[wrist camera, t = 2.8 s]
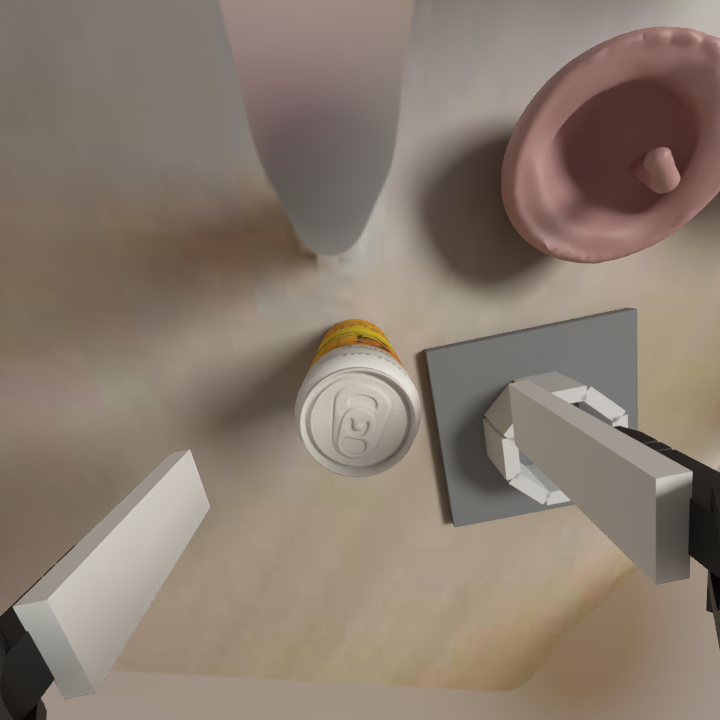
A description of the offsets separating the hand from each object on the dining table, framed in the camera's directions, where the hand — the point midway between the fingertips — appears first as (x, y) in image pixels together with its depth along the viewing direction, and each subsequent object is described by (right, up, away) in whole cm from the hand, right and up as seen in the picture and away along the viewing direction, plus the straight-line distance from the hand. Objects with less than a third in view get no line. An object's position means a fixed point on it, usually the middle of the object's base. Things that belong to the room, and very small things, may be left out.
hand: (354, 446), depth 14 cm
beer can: (0, +4, +16) cm, 17 cm away
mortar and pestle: (+15, +17, +13) cm, 27 cm away
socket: (+17, -2, +18) cm, 25 cm away
